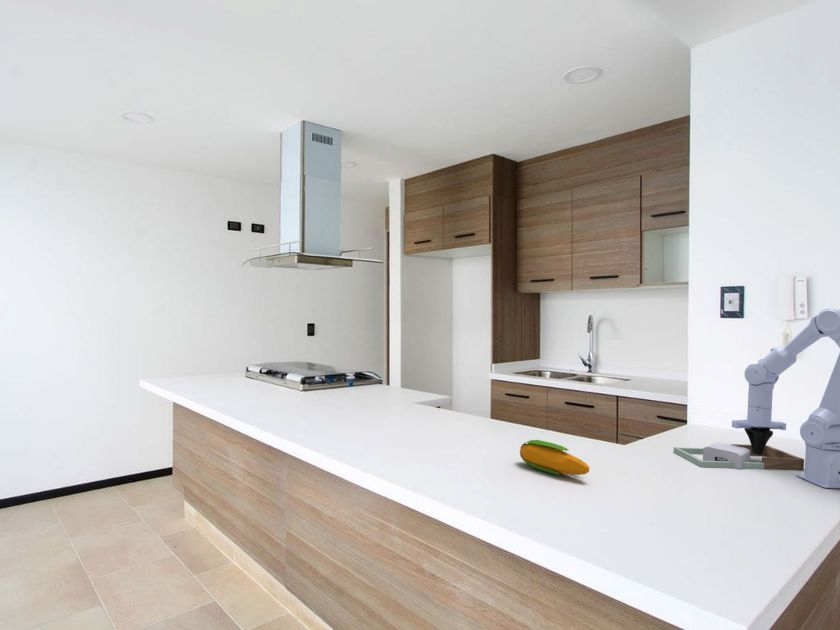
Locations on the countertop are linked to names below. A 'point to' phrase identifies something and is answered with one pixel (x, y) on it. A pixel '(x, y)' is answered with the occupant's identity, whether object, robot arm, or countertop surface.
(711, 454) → the charger
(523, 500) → the countertop surface
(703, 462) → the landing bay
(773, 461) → the brown wooden u-shaped frame
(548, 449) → the corn
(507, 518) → the countertop surface
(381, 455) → the countertop surface
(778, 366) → the robot arm
